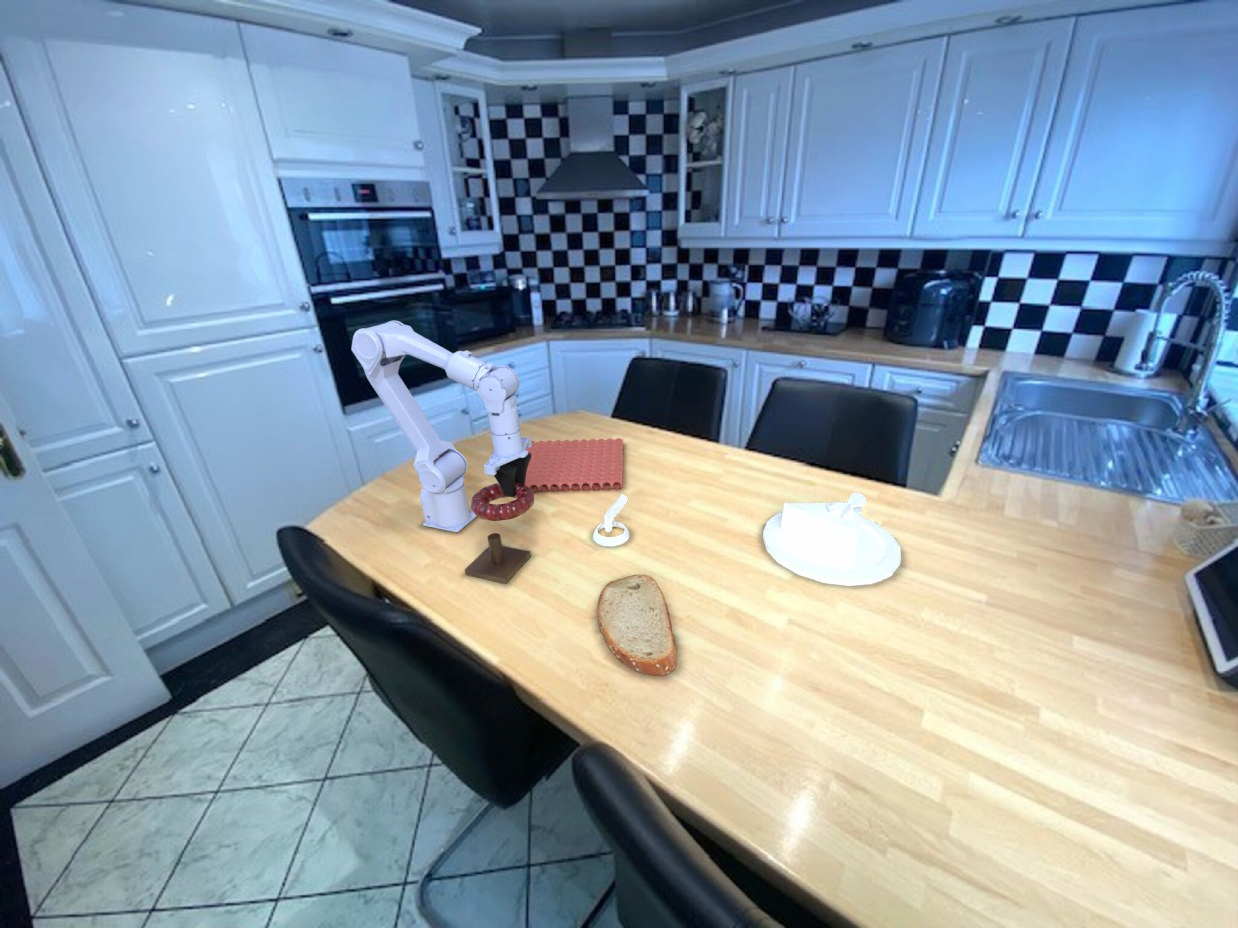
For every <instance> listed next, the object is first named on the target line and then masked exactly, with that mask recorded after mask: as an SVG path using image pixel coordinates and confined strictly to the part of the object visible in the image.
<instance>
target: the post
mask: <svg viewBox="0 0 1238 928" xmlns="http://www.w3.org/2000/svg"><path fill="white" fill-rule="evenodd" d="M487 542H488V547H486V548H485V550H484V551H483V552H481V553H480V554H479V555H478V556H477V557H476V558H475V559H474V560H473V561H472V562H471V563H469V565H468V566H467V567H465V569H464V574H465V575H466V576H470V577H474V578H478V579H482V580H486V581H490V582H494V583H499V584H504V585H507V584H508V583H509V582H510V581H511V580H512V579H513V577H514V576H515V575H516V574H517V573H518V572H519V571H520V569H522V567H524V565H525V564H526V563H527V562H528V561H529V559H530V558H531V557H532V553H531V551H529V550H524V549H520V548H515V547H509V546H506V545H503V543H502V537H501V534H500V533H499V532H492V533H490V534H488V536H487Z"/></svg>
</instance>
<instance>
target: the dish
mask: <svg viewBox="0 0 1238 928" xmlns="http://www.w3.org/2000/svg"><path fill="white" fill-rule="evenodd" d="M866 505H867V498H866V497H865V495H864V494H862V493H860V492H852V493H850V495H849V497H848V499H847V501H846V502H845V501H836V502H835V501H833V502H784V503H783V507H782V511H781V512H778V513H776V514H775V515H773V516H772V517H771V518H770V519H768V520H767V521H766V523H765V526H764V528H763V532H762V540H763V541H762V542H763V544H764V546H765V550H766V552H767V553H768V554H769V555H770V556H771V557H772V558H773V560H775V561H776V562H777V564H779V565H781V566H782V567H784V568H786V569H788V570H790V571H791V572H792V573H795V574H796V575H798V576H801V577H803V578H807V579H811V580H813V581H816V582H819V583H823V584H829V585H838V586H845V587H854V586H865V585H874V584H877V583H880V582H881V581H883V580H886V579H888V578H891V577H892V576H893V574H894V573H895V572H896V570H897V569H898V568H899V567H900V565H901V561H902V553H901V546H900V544H899V543H898V542H897V540H896V539H895V537H894V536H893V534H892V533H891V532H890V531H888V530H886V529H885V528H884V527H882V526H881V525H879V524H878V523H877V522H875V521H872V520H870V519H868V518H866V517H864V516H862V507H866Z"/></svg>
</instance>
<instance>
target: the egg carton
mask: <svg viewBox="0 0 1238 928" xmlns="http://www.w3.org/2000/svg"><path fill="white" fill-rule="evenodd" d="M531 444H532V446H531V447H530V448H526V450H525V451H528V453H530V454H531V459H530V462H529V464H528V468H527V472H526V479H525V485H526V486H527V487H529V488H530V489H532V490H533V492H534V493H536V492H538V491H541V492H543V493H546V492H548V491H552V492H558V491H559V490H561V491H562V492H568V491H569V490H572V491H574V492H577V491H579V490H583V491H589V490H591V489H592V490H594V491H598V490H600V489H603V490H604V491H608V490H610V489H614V490H617V491H618V490H620V489H622V488H623V484H624V483H623V481H624V480H623V478H624V477H623V475H624V474H623V473H624V470H623V469H624V439H623V438H620V437H617V438H615V439H613V438H611V437H609V438H607V439H604V438H599V439H595V438H591V439H589V440H587V439H585V438H584V439H581V440H578V439H573V440H568V439H565V440H560V439H556V440H555V441H552V440H547V441H543V440H539V441H534V440H531Z"/></svg>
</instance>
